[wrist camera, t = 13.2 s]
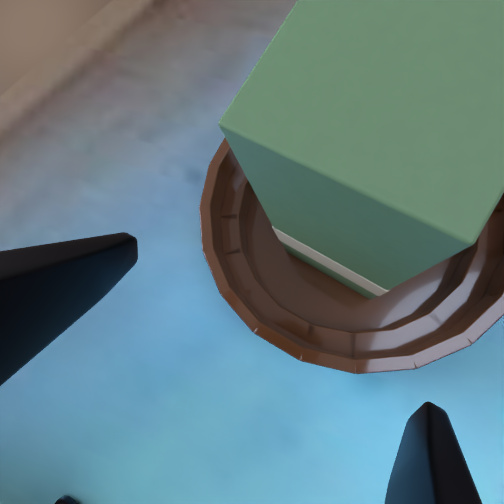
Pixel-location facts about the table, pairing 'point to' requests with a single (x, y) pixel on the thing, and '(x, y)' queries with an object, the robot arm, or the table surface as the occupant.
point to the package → (376, 134)
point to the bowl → (343, 289)
